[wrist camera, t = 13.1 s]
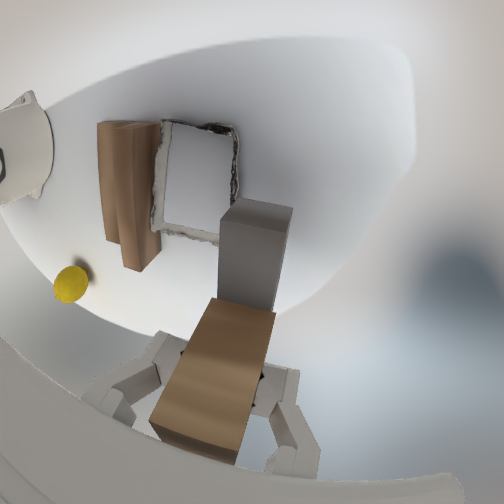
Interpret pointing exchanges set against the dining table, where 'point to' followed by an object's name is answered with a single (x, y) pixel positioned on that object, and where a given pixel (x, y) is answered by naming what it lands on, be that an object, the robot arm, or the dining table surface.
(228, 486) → the robot arm
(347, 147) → the dining table surface
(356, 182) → the dining table surface
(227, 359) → the oak pusher
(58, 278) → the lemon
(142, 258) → the stop bar
